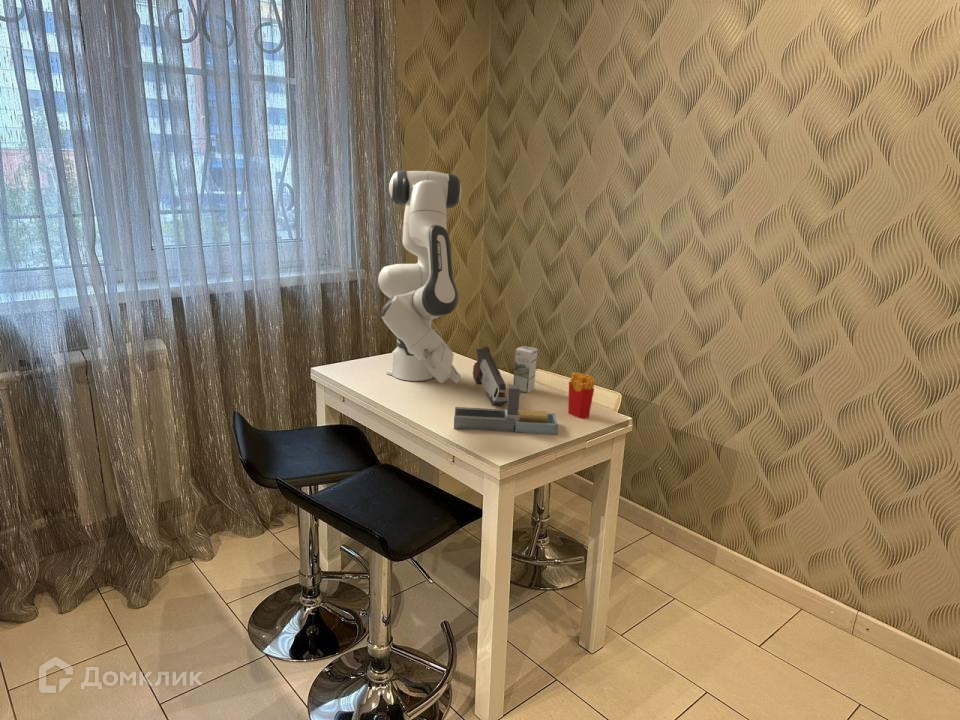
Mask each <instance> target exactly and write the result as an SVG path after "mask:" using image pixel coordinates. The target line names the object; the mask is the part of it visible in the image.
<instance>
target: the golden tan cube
mask: <svg viewBox="0 0 960 720" xmlns="http://www.w3.org/2000/svg"><path fill="white" fill-rule="evenodd" d="M518 411H519V415H520V417H519V422H532V423H533V417H534V415H533V411H534V410H532V409H531V410H530V409H518Z"/></svg>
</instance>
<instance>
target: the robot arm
mask: <svg viewBox="0 0 960 720" xmlns="http://www.w3.org/2000/svg"><path fill="white" fill-rule="evenodd" d="M462 190H463V189H462V184H461V181H460V178H459V177H458V176H457V175H455V174H452V173H450V172H449V173H448V172H447V173H445V172H444V173H443V172H439V171H434V170H433V171H432V170H405V169H403V170H401V169H400V170H395V172H394V173H393V174H392V176H391V179H390V181H389V184H388V192H389V195H390V199H391V201H392V202H393V203H394V204H396V205H399V206H401V207H404V206H405V208H404V213H403V225H402V228H403V229H402V239H401V240H402V241H401V242H402V246H403V247H404V249H405V250H406V251H408V252H409V253H410V254H412V255H414V256H416V257H417V262H416V263H395V264H390V265H386V266H384V267H382V268H381V270H380V271H379V273H378V277H377V278H378V281H377V283H378V287H379V289H380V291H381V292H382V293H383V295H385V296H386V297H387V298H389V299H388V301H386V302H385V304H384V305H383V307H382V309H381V312H380V317H381V319H382V321H383V322H384V324H385V325H386V326H387V327H388V328H387V329H389V330H390V331H391V332H392V333H393V335H394V336H395V337H396V347H395V348H394V350H393V351H392V352H391V354H392V355H391V367H389V368H388V369H387V370H386V375H390V376H393V377H394V378H396V379H398V380H402V381H410V382H412V381H413V382H418V381H421V382H423V381H428V380H431V379H434V378H435V379H436V380H437V382H439V383H441V384H443V383H445V381H447V380H448V379H451V380H452V381H453V382H454V383H455V384H458V383H459V382H461V376H462V375H461V374H460V373H459V372H458V371H457V369H456V367H455V366H454V364H453V361H454V352H453V350H452V349H451V348H450V347H449V345H448V344H447V343H446V341H445V340H444V339H443V338H442V337H441V333H440V332H439V331H438V330H437V329H433V328H432V320H435V319H437V318H439V317H442V316H445V315H448V314H450V313H452V312H454V310H455V309H456V307H457V306H458V304H459V292H458V291H459V290H458V288H457V286H456V283H455V282H456V281H455V279H454V274H453V265H452V264H453V263H452V253H451V252H452V250H451V241H450V236H449V233H448V228H447V225H448V224H447V218H448V217H447V209H453V208H454V207H456V206H458V203H459V202H460V200H461V197H462Z"/></svg>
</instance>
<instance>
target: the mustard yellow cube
mask: <svg viewBox="0 0 960 720" xmlns="http://www.w3.org/2000/svg"><path fill="white" fill-rule="evenodd" d="M547 413H548V412H547V411H545V410H533V415H534V417H533V423H547V417H548V416H547Z"/></svg>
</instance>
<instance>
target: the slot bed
mask: <svg viewBox="0 0 960 720" xmlns="http://www.w3.org/2000/svg"><path fill="white" fill-rule="evenodd" d="M505 410H506V409H505V408H504V409H502V408H501V409H499V408H483V407H466V406H455V407H454V417H453V418H454V419H453V430H471V431H472V430H473V431H489V432H508V433H514V430H515V427H514V419H512V418H505Z"/></svg>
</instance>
